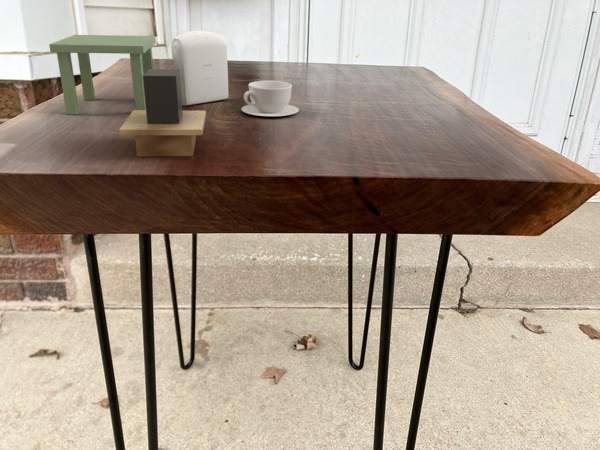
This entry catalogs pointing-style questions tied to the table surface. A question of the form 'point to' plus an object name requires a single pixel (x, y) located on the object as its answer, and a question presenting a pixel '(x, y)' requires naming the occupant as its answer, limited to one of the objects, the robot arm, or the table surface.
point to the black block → (163, 96)
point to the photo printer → (201, 66)
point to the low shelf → (164, 134)
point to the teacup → (269, 99)
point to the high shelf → (83, 46)
